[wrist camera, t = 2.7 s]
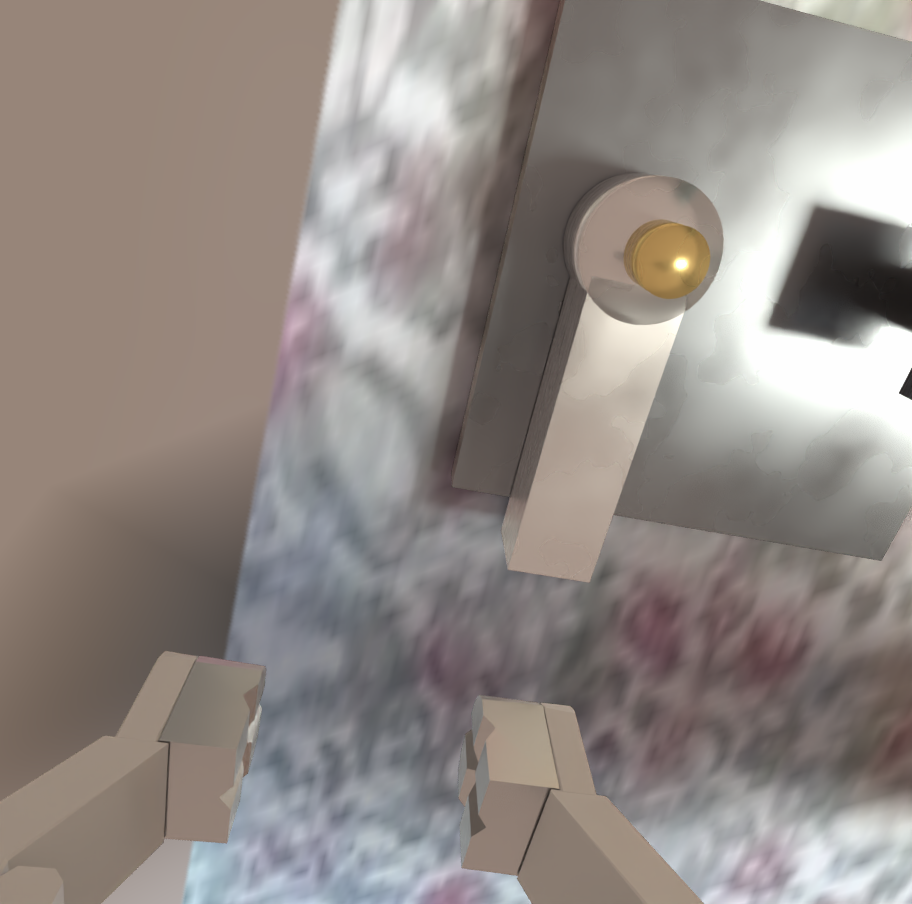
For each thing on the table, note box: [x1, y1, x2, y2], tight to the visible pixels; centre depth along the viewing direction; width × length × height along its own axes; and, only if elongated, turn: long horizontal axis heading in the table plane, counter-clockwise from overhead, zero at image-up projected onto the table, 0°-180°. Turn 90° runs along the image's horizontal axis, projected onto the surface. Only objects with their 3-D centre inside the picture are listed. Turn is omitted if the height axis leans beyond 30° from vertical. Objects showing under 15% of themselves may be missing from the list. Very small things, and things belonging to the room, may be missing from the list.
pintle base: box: [451, 0, 912, 561], centre depth 23 cm, size 18×19×6 cm
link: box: [501, 173, 724, 583], centre depth 24 cm, size 14×4×3 cm, turn 168°
